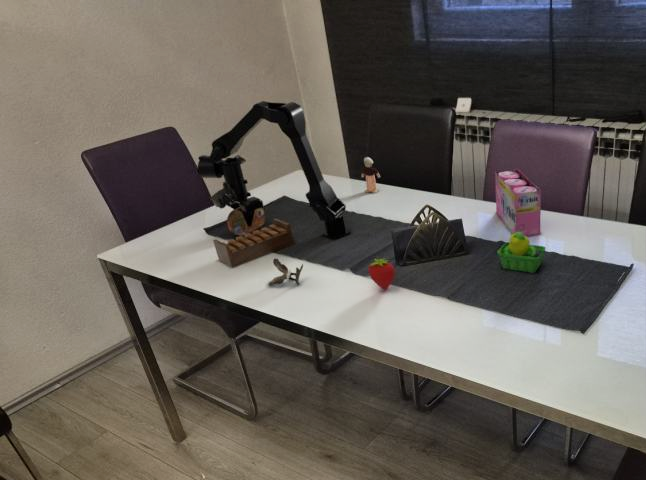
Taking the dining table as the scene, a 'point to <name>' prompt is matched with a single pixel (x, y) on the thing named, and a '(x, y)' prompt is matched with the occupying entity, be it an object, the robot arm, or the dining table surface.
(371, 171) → the grandmother figurine
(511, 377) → the dining table surface
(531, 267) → the fruit basket
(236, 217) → the tin
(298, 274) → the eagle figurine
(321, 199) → the robot arm
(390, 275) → the strawberry
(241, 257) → the rack
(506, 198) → the gum box
